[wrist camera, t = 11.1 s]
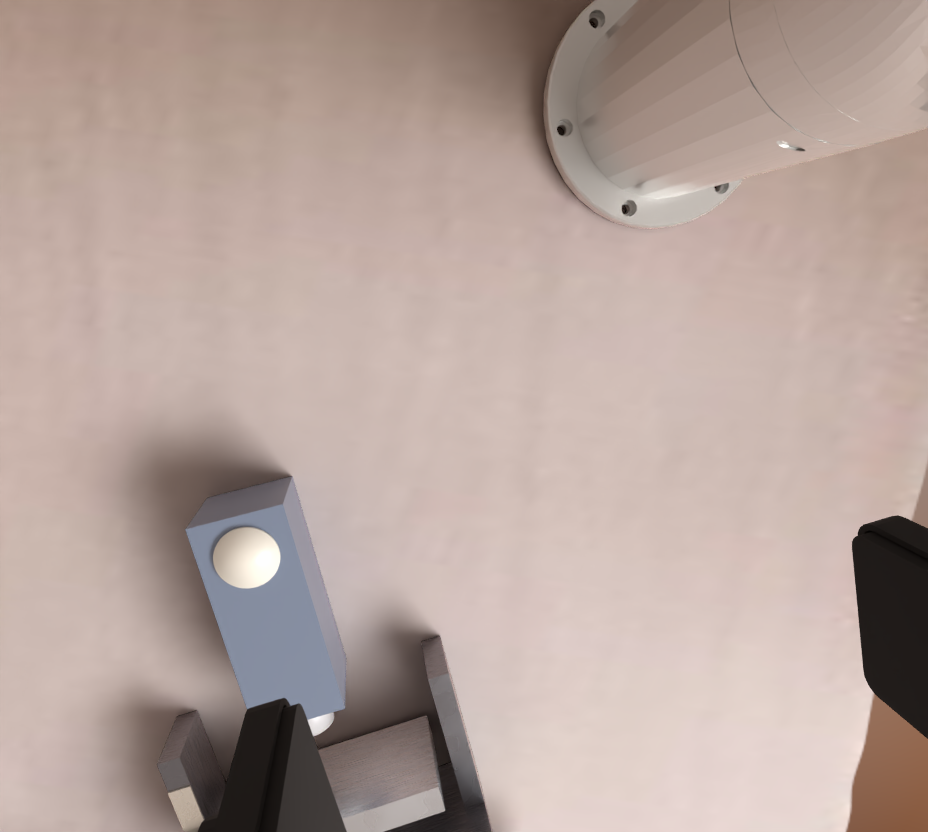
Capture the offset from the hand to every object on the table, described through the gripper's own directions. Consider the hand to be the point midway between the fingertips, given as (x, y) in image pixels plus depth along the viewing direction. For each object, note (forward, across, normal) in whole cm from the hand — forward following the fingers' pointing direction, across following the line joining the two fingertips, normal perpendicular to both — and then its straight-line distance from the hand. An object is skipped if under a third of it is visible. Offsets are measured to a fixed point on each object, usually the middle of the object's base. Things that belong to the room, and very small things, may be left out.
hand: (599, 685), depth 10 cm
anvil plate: (+27, +13, +21) cm, 36 cm away
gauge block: (+28, +12, +9) cm, 31 cm away
